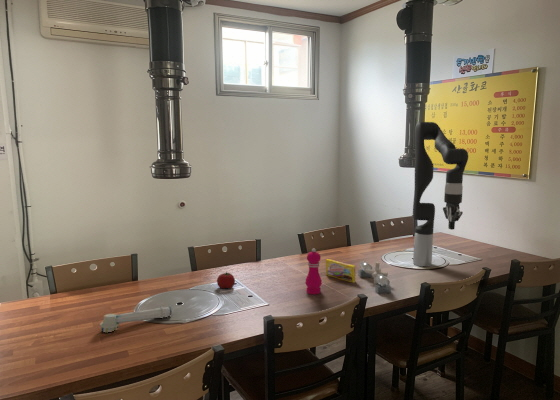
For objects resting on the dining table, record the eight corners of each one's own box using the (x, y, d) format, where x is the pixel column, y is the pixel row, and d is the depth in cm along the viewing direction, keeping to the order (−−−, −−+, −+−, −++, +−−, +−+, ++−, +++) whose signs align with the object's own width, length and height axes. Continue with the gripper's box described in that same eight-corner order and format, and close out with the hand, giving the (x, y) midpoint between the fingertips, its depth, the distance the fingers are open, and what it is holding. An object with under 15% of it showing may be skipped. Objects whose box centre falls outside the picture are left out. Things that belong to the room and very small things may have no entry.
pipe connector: (383, 288, 183) (385, 267, 182) (362, 284, 188) (364, 263, 187) (388, 282, 192) (390, 261, 191) (368, 278, 197) (369, 258, 195)
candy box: (325, 275, 202) (325, 259, 200) (327, 274, 203) (328, 258, 202) (353, 283, 191) (353, 266, 190) (355, 282, 192) (355, 265, 191)
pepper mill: (310, 296, 176) (311, 251, 173) (302, 290, 182) (302, 247, 179) (324, 293, 179) (325, 249, 176) (316, 287, 185) (316, 245, 182)
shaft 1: (357, 275, 201) (358, 261, 200) (369, 274, 202) (369, 260, 201) (362, 279, 195) (362, 265, 194) (374, 278, 196) (374, 264, 195)
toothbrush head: (172, 309, 155) (102, 316, 142) (171, 325, 156) (101, 334, 142) (168, 304, 160) (100, 310, 146) (167, 320, 160) (98, 328, 147)
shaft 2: (373, 289, 183) (373, 274, 182) (385, 288, 184) (386, 273, 183) (378, 294, 177) (378, 279, 176) (391, 293, 178) (391, 278, 177)
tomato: (228, 283, 192) (227, 268, 191) (238, 287, 187) (238, 272, 185) (214, 287, 187) (213, 272, 186) (224, 292, 181) (224, 276, 180)
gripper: (469, 194, 180) (467, 232, 183) (452, 190, 193) (450, 225, 196) (454, 194, 179) (451, 232, 182) (438, 190, 192) (436, 226, 195)
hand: (451, 229), depth 189 cm, fingers closed
